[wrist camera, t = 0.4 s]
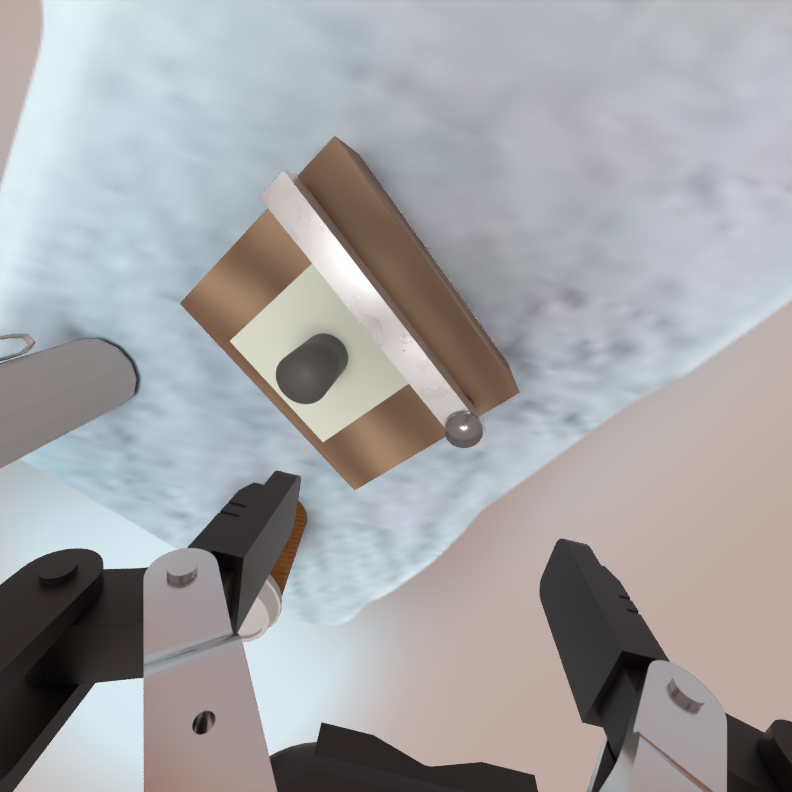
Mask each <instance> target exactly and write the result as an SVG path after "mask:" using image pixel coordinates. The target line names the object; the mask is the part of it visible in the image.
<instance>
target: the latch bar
mask: <svg viewBox="0 0 792 792" xmlns="http://www.w3.org/2000/svg"><path fill="white" fill-rule="evenodd" d="M259 198H260V199H261V200H262V202H263V203H264V204H265V205H266V207H267V208H268V209H269V210H270V212H271V213H272V214H273V215H274V217H275V218H276V219H277V220H278V221H279V223H280V224H281V225H282V226H283V228H284V229H285V230H286V231H287V233H288V234H289V235H290V236H291V238H292V239H293V240H294V241H295V243H296V244H297V245H298V246H299V248H300V249H301V250H302V251H303V253H304V254H305V255H306V256H307V257H308V259H309V260H310V261H311V262H312V264H313V265H314V266H315V267H316V269H317V270H318V271H319V272H320V274H321V275H322V276H323V277H324V279H325V280H326V281H327V282H328V284H329V285H330V286H331V287H332V289H333V290H334V291H335V292H336V293H337V295H338V296H339V297H340V298H341V300H342V301H343V302H344V303H345V305H346V306H347V307H348V308H349V310H350V311H351V312H352V313H353V315H354V316H355V317H356V318H357V320H358V321H359V322H360V323H361V325H362V326H363V327H364V328H365V330H366V331H367V332H368V333H369V334H370V336H371V337H372V338H373V339H374V341H375V342H376V343H377V344H378V346H379V347H380V348H381V349H382V351H383V352H384V353H385V354H386V356H387V357H388V358H389V359H390V361H391V362H392V363H393V364H394V366H395V367H396V368H397V369H398V370H399V372H400V373H401V374H402V375H403V377H404V378H405V379H406V380H407V382H408V383H409V384H410V385H411V387H412V388H413V389H414V390H415V392H416V393H417V394H418V395H419V397H420V398H421V399H422V400H423V402H424V403H425V404H426V405H427V407H428V408H429V409H430V410H431V411H432V413H433V414H434V415H435V416H436V418H437V419H438V420H439V421H440V423H441V424H442V425H443V426H444V428H445V436H446V438H447V440H448V441H449V442H450V443H451V444H452V445H454V446H456V447H460V448H468V447H472V446H474V445H475V444H477V443H478V442H479V441H480V439H481V438H482V435H483V433H484V432H485V426H484V419H483V418H482V416H481V415H480V414H479V412H478V411H477V410H476V409H475V407H474V406H473V405H472V403H471V402H470V401H469V399H468V398H467V397H466V396H465V394H464V393H463V392H462V390H461V389H460V388H459V386H458V385H457V384H456V382H455V381H454V380H453V379H452V377H451V376H450V375H449V373H448V372H447V371H446V369H445V368H444V367H443V365H442V364H441V363H440V362H439V360H438V359H437V358H436V356H435V355H434V354H433V352H432V351H431V350H430V349H429V347H428V346H427V345H426V343H425V342H424V341H423V339H422V338H421V337H420V335H419V334H418V333H417V332H416V330H415V329H414V328H413V326H412V325H411V324H410V322H409V321H408V320H407V318H406V317H405V316H404V315H403V313H402V312H401V311H400V309H399V308H398V307H397V305H396V304H395V303H394V301H393V300H392V299H391V298H390V296H389V295H388V294H387V292H386V291H385V290H384V288H383V287H382V286H381V285H380V283H379V282H378V281H377V279H376V278H375V277H374V275H373V274H372V273H371V271H370V270H369V269H368V268H367V266H366V265H365V264H364V262H363V261H362V260H361V258H360V257H359V256H358V254H357V253H356V252H355V251H354V249H353V248H352V247H351V245H350V244H349V243H348V241H347V240H346V239H345V238H344V236H343V235H342V234H341V232H340V231H339V230H338V228H337V227H336V226H335V224H334V223H333V222H332V221H331V219H330V218H329V217H328V215H327V214H326V213H325V211H324V210H323V209H322V207H321V206H320V205H319V204H318V202H317V201H316V200H315V198H314V197H313V196H312V194H311V193H310V192H309V190H308V189H307V188H306V187H305V185H304V184H303V183H302V181H301V180H300V179H299V177H298V176H297V175H296V174H293V173H290V172H287V171H284V170H283V171H282V172H281V173H280V175H279V176H278V177H277V178H276V179H275V180H274V181H273V182H272V183H271V185H270V186H269V187H268V188H267V189H266V190H265V191H264V192H263V193H262V195H261V196H260V197H259Z"/></svg>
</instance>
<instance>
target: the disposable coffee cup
mask: <svg viewBox="0 0 792 792" xmlns="http://www.w3.org/2000/svg"><path fill="white" fill-rule="evenodd" d="M306 521H307V516H306V512H305V510H304V508H303V507H302V505H301V504H300V503H299V502H298V503H297V510H296V516H295V522H294V525H293V529H292V532H291V534H290V537H289V539H288V541H287V543H286V545H285V546H284V548H283V550H282V552H281V554H280V556H279V557H278V559H277V561H276V563H275V565H274V567H273V568H272V570H271V572H270V574H269V576H268V578H267V580H266V581H265V583H264V585H263V587H262V589H261V591H260V592H259V594H258V596H257V598H256V600H255V602H254V603H253V605H252V607H251V609H250V611H249V613H248V614H247V616H246V618H245V620H244V622H243V624H242V626H241V627H240V629H239V631H238V634H239V635H240V637H241V639H242V642H249V641H252V640H255V639H258V638H259V637H261V636H262V635H263V634H264V633H265V632H266V631H267V629H268V628H269V627H271V626H272V625H273V624H274V623H275V622H276V621H277V620H278V618H279V616H280V613H281V602H282V594H283V591H284V588H285V585H286V582H287V579H288V576H289V573H290V570H291V567H292V563H293V561H294V558H295V555H296V552H297V548H298V546H299V543H300V539H301V537H302V534H303V530H304V527H305V525H306Z"/></svg>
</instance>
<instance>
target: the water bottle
mask: <svg viewBox="0 0 792 792" xmlns="http://www.w3.org/2000/svg"><path fill="white" fill-rule="evenodd" d="M7 338H23V339H24V340H25V341H26V342H27V344H28V346H27V347H25V348H24V349H23V350H22V351H21V352H20V353H17V354H13V355H9V356H5V357H1V358H0V361H3V360H7V359H10V358H14V357H16V356H19V355H22V354H24V353H27V351H29V350H30V349H32V347H33V346H34V344H35V342H34V340H33V339H32V338H31V336H30V335H29V334H11V335H5V336H0V340H1V339H7ZM136 379H137V378H136V375H135V372H134V369H133V366H132V363H131V361H130V360H129V359H128V358H127V357H126V356H125V355H124V354H123V353H122V352H121V350H120V349H119V348H117V347H115V346H113V345H111V344H109V343H107V342H105V341H103V340H100V339H81V340H77V341H74V342H70V343H67V344H64V345H60V346H57V347H54V348H50V349H47V350H43V351H40V352H37V353H33V354H30V355H26V356H23V357H20V358H16V359H13V360H10V361H6V362H3V363H0V468H2V467H4V466H6V465H8V464H9V463H11V462H13V461H15V460H17V459H19V458H21V457H23V456H25V455H27V454H28V453H30V452H32V451H34V450H36V449H38V448H40V447H42V446H44V445H46V444H47V443H49V442H51V441H53V440H55V439H57V438H59V437H61V436H63V435H65V434H66V433H68V432H70V431H72V430H74V429H76V428H78V427H80V426H82V425H84V424H85V423H87V422H89V421H91V420H93V419H95V418H97V417H99V416H101V415H103V414H104V413H106V412H108V411H110V410H112V409H114V408H116V407H118V406H120V405H122V404H123V403H125V402H126V401H127V400H128V399H130V398H131V397H132V396H134V391H135V385H136Z"/></svg>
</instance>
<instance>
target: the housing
mask: <svg viewBox="0 0 792 792" xmlns="http://www.w3.org/2000/svg"><path fill="white" fill-rule="evenodd" d="M298 177H299V179H300V180H301V181H302V183H303V184H304V185H305V187H306V188H307V189H308V190H309V192H310V193H311V194H312V196H313V197H314V198H315V200H316V201H317V202H318V204H319V205H320V206H321V207H322V209H323V210H324V211H325V213H326V214H327V215H328V217H329V218H330V219H331V221H332V222H333V223H334V224H335V226H336V227H337V228H338V230H339V231H340V232H341V234H342V235H343V236H344V238H345V239H346V240H347V241H348V243H349V244H350V245H351V247H352V248H353V249H354V251H355V252H356V253H357V254H358V256H359V257H360V258H361V260H362V261H363V262H364V264H365V265H366V266H367V268H368V269H369V270H370V271H371V273H372V274H373V275H374V277H375V278H376V279H377V281H378V282H379V283H380V285H381V286H382V287H383V288H384V290H385V291H386V292H387V294H388V295H389V296H390V298H391V299H392V300H393V301H394V303H395V304H396V305H397V307H398V308H399V309H400V311H401V312H402V313H403V315H404V316H405V317H406V318H407V320H408V321H409V322H410V324H411V325H412V326H413V328H414V329H415V330H416V332H417V333H418V334H419V335H420V337H421V338H422V339H423V341H424V342H425V343H426V345H427V346H428V347H429V349H430V350H431V351H432V352H433V354H434V355H435V356H436V358H437V359H438V360H439V362H440V363H441V364H442V365H443V367H444V368H445V369H446V371H447V372H448V373H449V375H450V376H451V377H452V379H453V380H454V381H455V382H456V384H457V385H458V386H459V388H460V389H461V390H462V392H463V393H464V394H465V396H466V397H467V398H468V399H469V401H470V402H471V403H472V405H473V406H474V407H475V409H476V410H477V411H478V412H479V414H480V415H483V414H484V413H486V412H488V411H489V410H491V409H493V408H494V407H496V406H498V405H499V404H501V403H503V402H505V401H506V400H508V399H510V398H511V397H513V396H515V395H516V394H518V393H519V391H518V388H517V385H516V383H515V380H514V378H513V375H512V372H511V370H510V367H509V365H508V363H507V362H506V361H505V359H504V358H503V356H502V355H501V354H500V352H499V351H498V349H497V348H496V347H495V345H494V344H493V342H492V341H491V340H490V338H489V337H488V335H487V334H486V333H485V331H484V330H483V328H482V327H481V325H480V324H479V323H478V321H477V320H476V318H475V317H474V316H473V314H472V313H471V311H470V310H469V309H468V307H467V306H466V304H465V303H464V302H463V300H462V299H461V297H460V296H459V295H458V293H457V292H456V290H455V289H454V288H453V286H452V285H451V283H450V282H449V280H448V279H447V278H446V276H445V275H444V273H443V272H442V271H441V269H440V268H439V266H438V265H437V264H436V262H435V261H434V259H433V258H432V257H431V255H430V254H429V252H428V251H427V250H426V248H425V247H424V245H423V244H422V243H421V241H420V240H419V238H418V237H417V236H416V234H415V233H414V231H413V230H412V228H411V227H410V226H409V224H408V223H407V221H406V220H405V219H404V217H403V216H402V214H401V213H400V212H399V210H398V209H397V207H396V206H395V205H394V203H393V202H392V200H391V199H390V198H389V196H388V195H387V193H386V192H385V191H384V189H383V188H382V186H381V185H380V183H379V182H378V181H377V179H376V178H375V176H374V175H373V174H372V172H371V171H370V169H369V168H368V167H367V165H366V164H365V162H364V161H363V160H362V158H361V157H360V155H359V154H358V153H356V152H355V151H354V150H352V149H351V148H350V147H349V146H347V145H346V144H345V143H343V142H342V141H341V140H339V139H338V138H337V137H336V136H334V137H333V138H332V140H331V141H330V142H329V143H328V144H327V145H326V146H325V147H324V148H323V149H322V150H321V151H320V152H319V154H318V155H317V156H316V157H315V158H314V159H313V160H312V161H311V162H310V163H309V164H308V165H307V167H306V168H305V169H304V170H303V171H302V172H301V173H300V174H299V175H298ZM311 264H312V262H311V261H310V260H309V259H308V257H307V256H306V255H305V254H304V253H303V251H302V250H301V249H300V248H299V246H298V245H297V244H296V243H295V241H294V240H293V239H292V238H291V236H290V235H289V234H288V233H287V231H286V230H285V229H284V228H283V226H282V225H281V224H280V223H279V221H278V220H277V219H276V218H275V217H274V215H273V214H272V213H271V212H270V210H269V209H267V210H266V211H265V212H264V213H263V214H262V215H261V216H260V217H259V218H258V220H257V221H256V222H255V223H254V224H253V225H252V226H251V227H250V228H249V229H248V230H247V231H246V233H245V234H244V235H243V236H242V237H241V238H240V239H239V240H238V241H237V242H236V243H235V244H234V245H233V247H232V248H231V249H230V250H229V251H228V252H227V253H226V254H225V255H224V256H223V257H222V258H221V260H220V261H219V262H218V263H217V264H216V265H215V266H214V267H213V268H212V269H211V270H210V271H209V273H208V274H207V275H206V276H205V277H204V278H203V279H202V280H201V281H200V282H199V283H198V284H197V286H196V287H195V288H194V289H193V290H192V291H191V292H190V293H189V294H188V295H187V296H186V297H185V298H184V300H183V301H182V302H181V303H180V304H181V305H182V306H183V307H184V308H185V309H186V310H187V311H188V313H189V314H190V315H191V316H192V317H193V318H194V319H195V320H196V321H197V322H198V323H199V324H200V325H201V326H202V328H203V329H204V330H205V331H206V332H207V333H208V334H209V335H210V336H211V337H212V338H213V339H214V340H215V341H216V343H217V344H218V345H219V346H220V347H221V348H222V349H223V350H224V351H225V352H226V353H227V354H228V355H229V356H230V358H231V359H232V360H233V361H234V362H235V363H236V364H237V365H238V366H239V367H240V368H241V369H242V370H243V371H244V373H245V374H246V375H247V376H248V377H249V378H250V379H251V380H252V381H253V382H254V383H255V384H256V385H257V386H258V388H259V389H260V390H261V391H262V392H263V393H264V394H265V395H266V396H267V397H268V398H269V399H270V400H271V401H272V403H273V404H274V405H275V406H276V407H277V408H278V409H279V410H280V411H281V412H282V413H283V414H284V415H285V416H286V418H287V419H288V420H289V421H290V422H291V423H292V424H293V425H294V426H295V427H296V428H297V429H298V430H299V431H300V432H301V434H302V435H303V436H304V437H305V438H306V439H307V440H308V441H309V442H310V443H311V444H312V445H313V446H314V447H315V449H316V450H317V451H318V452H319V453H320V454H321V455H322V456H323V457H324V458H325V459H326V460H327V461H328V462H329V464H330V465H331V466H332V467H333V468H334V469H335V470H336V471H337V472H338V473H339V474H340V475H341V476H342V477H343V479H344V480H345V481H346V482H347V483H348V484H349V485H350V486H351V487H352V488H353V489H354V490H356V489H358V488H359V487H361V486H363V485H364V484H366V483H368V482H369V481H371V480H373V479H375V478H376V477H378V476H380V475H381V474H383V473H385V472H386V471H388V470H390V469H391V468H393V467H395V466H396V465H398V464H400V463H402V462H403V461H405V460H407V459H408V458H410V457H412V456H413V455H415V454H417V453H418V452H420V451H422V450H424V449H425V448H427V447H429V446H430V445H432V444H434V443H435V442H437V441H439V440H440V439H442V438H444V437H445V428H444V426H443V425H442V424H441V423H440V421H439V420H438V419H437V418H436V416H435V415H434V414H433V413H432V411H431V410H430V409H429V408H428V407H427V405H426V404H425V403H424V402H423V400H422V399H421V398H420V397H419V395H418V394H417V393H416V392H415V390H414V389H413V388H412V387H411V385H410V384H408V385H406V386H405V387H403V388H402V389H400V390H399V391H397V392H396V393H395V394H393V395H392V396H390V397H389V398H387V399H386V400H384V401H383V402H381V403H380V404H378V405H377V406H376V407H374V408H373V409H371V410H370V411H368V412H367V413H365V414H364V415H362V416H361V417H359V418H358V419H356V420H355V421H354V422H352V423H351V424H349V425H348V426H346V427H345V428H343V429H342V430H340V431H339V432H337V433H336V434H335V435H333V436H332V437H330V438H329V439H327V440H326V441H324V442H322V441H321V440H320V439H319V437H318V436H317V435H316V434H315V433H314V432H313V431H312V430H311V429H310V428H309V427H308V426H307V424H306V423H305V422H304V421H303V420H302V419H301V418H300V417H299V416H298V415H297V414H296V413H295V411H294V410H293V409H292V408H291V407H290V406H289V405H288V404H287V403H286V402H285V401H284V400H283V398H282V397H281V396H280V395H279V394H278V393H277V392H276V391H275V390H274V389H273V388H272V387H271V385H270V384H269V383H268V382H267V381H266V380H265V379H264V378H263V377H262V376H261V375H260V374H259V372H258V371H257V370H256V369H255V368H254V367H253V366H252V365H251V364H250V363H249V362H248V361H247V359H246V358H245V357H244V356H243V355H242V354H241V353H240V352H239V351H238V350H237V349H236V347H235V346H234V345H233V344H232V343H231V342H230V340H231V339H232V338H233V337H235V336H236V335H237V334H238V333H239V332H240V331H241V330H242V329H243V328H244V327H245V326H246V325H247V324H248V323H249V322H250V321H252V320H253V319H254V318H255V317H256V316H257V315H258V314H259V313H260V312H261V311H262V310H263V309H264V308H265V307H266V306H268V305H269V304H270V303H271V302H272V301H273V300H274V299H275V298H276V297H277V296H278V295H279V294H280V293H281V292H282V291H283V290H285V289H286V288H287V287H288V286H289V285H290V284H291V283H292V282H293V281H294V280H295V279H296V278H297V277H298V276H299V275H301V274H302V273H303V272H304V271H305V270H306V269H307V268H308V267H309V266H310V265H311Z"/></svg>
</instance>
